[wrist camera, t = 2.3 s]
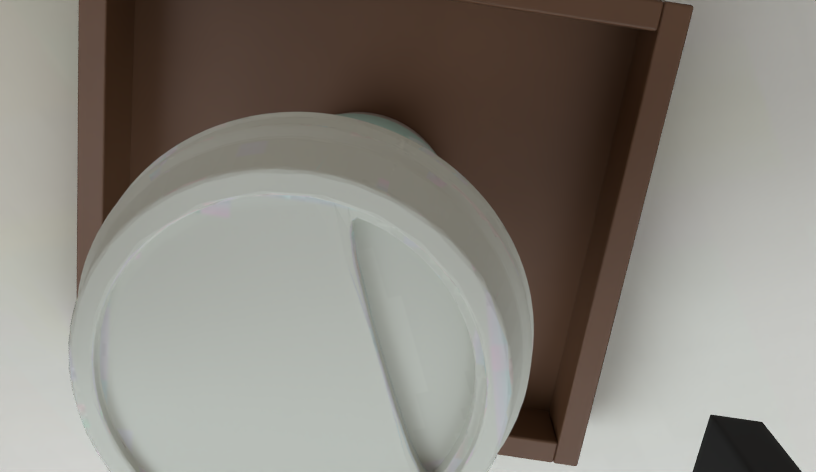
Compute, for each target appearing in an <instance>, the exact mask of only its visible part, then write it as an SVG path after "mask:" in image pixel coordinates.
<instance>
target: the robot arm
mask: <svg viewBox="0 0 816 472" xmlns="http://www.w3.org/2000/svg"><path fill="white" fill-rule="evenodd" d="M693 472H801V470H800V469H799V468H798V467H797V465H796V464H795V463H794V461H793V460H792V459H791V458H790V456H789V455H788V454H787V453H786V451H785V450H784V449H783V448H782V446H781V445H780V444H779V443H778V441H777V440H776V439H775V438H774V436H773V435H772V434H771V433H770V431H769V430H768V429H767V428H766V426H765V425H764V424H763V423H762V422H758V421H751V420H744V419H737V418H730V417H723V416H717V415H710V418H709V421H708V424H707V428H706V431H705V434H704V437H703V440H702V444H701V447H700V450H699V453H698V456H697V460H696V463H695V466H694V469H693Z"/></svg>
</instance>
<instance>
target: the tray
mask: <svg viewBox="0 0 816 472" xmlns="http://www.w3.org/2000/svg"><path fill="white" fill-rule="evenodd" d="M692 11H693V6H692V5H687V4H681V3H674V2H668V1H665V2H662V1H661V0H79V50H78V194H77V297H78V289H79V284H80V279H81V275H82V271H83V268H84V264H85V261H86V258H87V255H88V253H89V250H90V248H91V245H92V243H93V241H94V239H95V237H96V235H97V233H98V231H99V229H100V228H101V226H102V224H103V223H104V221H105V219H106V218H107V216H108V214H109V213H110V212H111V210H112V209H113V208H114V206H115V205H116V204H117V202H118V201H119V199H120V198H121V197H122V195H123V194H124V193H125V191H126V190H127V189H128V188H129V186H130V185H131V184H132V183H133V182H134V181H135V179H136V178H137V177H138V176H139V175H140V174H141V173H142V172H143V171H144V170H145V169H146V168H148V167H149V166H150V165H151V164H152V163H153V162H154V161H156V160H157V159H158V158H159V157H161V156H162V155H163V154H165V153H166V152H167V151H169V150H170V149H172V148H173V147H175V146H176V145H178V144H180V143H181V142H183V141H185V140H187V139H188V138H190V137H192V136H194V135H196V134H198V133H201V132H203V131H205V130H207V129H210V128H212V127H215V126H218V125H220V124H223V123H226V122H230V121H233V120H237V119H241V118H245V117H250V116H255V115H261V114H269V113H279V112H315V113H325V114H333V115H336V114H342V113H349V112H367V113H374V114H379V115H383V116H386V117H390V118H392V119H395V120H397V121H399V122H401V123H403V124H405V125H406V126H408V127H410V128H411V129H412V130H414V131H415V132H416V133H418V134H419V135H420V136H421V137H422V138H423V139H424V140H425V141H426V142H427V143H428V144H429V145H430V146H431V148H432V149H433V150H434V152H435V153H436V154H437V156H439V157H440V158H441V159H443V160H444V161H445V162H447V163H448V164H449V165H451V166H452V167H453V168H454V169H456V170H457V171H458V172H459V173H460V174H461V175H462V176H463V177H465V178H466V179H467V180H468V181H469V182H470V183H471V184H472V185H473V186H474V187H475V188H476V189H477V191H478V192H479V193H480V194H481V195H482V196H483V197H484V199H485V200H486V201H487V202H488V204H489V205H490V206H491V207H492V209H493V210H494V211H495V213H496V214H497V216H498V217H499V219H500V220H501V222H502V223H503V225H504V227H505V228H506V230H507V232H508V234H509V236H510V237H511V239H512V241H513V243H514V246H515V248H516V250H517V252H518V255H519V257H520V260H521V262H522V265H523V268H524V271H525V274H526V278H527V281H528V286H529V290H530V295H531V301H532V309H533V320H534V339H533V351H532V359H531V367H530V374H529V380H528V385H527V390H526V394H525V397H524V400H523V403H522V406H521V409H520V412H519V414H518V417H517V420H516V422H515V424H514V426H513V428H512V430H511V432H510V434H509V436H508V437H507V439H506V441H505V443H504V444H503V446H502V447H501V449H500V450H499V452H498V453H497V454H499V455H506V456H513V457H519V458H526V459H533V460H540V461H546V462H552V461H554V463H558V464H565V465H572V466H577V464H578V460H579V456H580V452H581V448H582V444H583V440H584V436H585V432H586V428H587V424H588V420H589V416H590V413H591V409H592V405H593V401H594V397H595V393H596V389H597V385H598V381H599V377H600V373H601V369H602V365H603V361H604V357H605V354H606V350H607V346H608V342H609V338H610V334H611V330H612V326H613V322H614V318H615V314H616V310H617V306H618V302H619V299H620V295H621V291H622V287H623V283H624V279H625V275H626V271H627V267H628V263H629V259H630V255H631V251H632V247H633V243H634V240H635V236H636V232H637V228H638V224H639V220H640V216H641V212H642V208H643V204H644V200H645V196H646V192H647V188H648V184H649V181H650V177H651V173H652V169H653V165H654V161H655V157H656V153H657V149H658V145H659V141H660V137H661V133H662V129H663V126H664V122H665V118H666V114H667V110H668V106H669V102H670V98H671V94H672V90H673V86H674V82H675V78H676V74H677V70H678V67H679V63H680V59H681V55H682V51H683V47H684V43H685V39H686V35H687V31H688V27H689V23H690V19H691V15H692Z"/></svg>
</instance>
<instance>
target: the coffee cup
mask: <svg viewBox="0 0 816 472" xmlns="http://www.w3.org/2000/svg"><path fill="white" fill-rule="evenodd" d="M533 339H534V320H533V309H532V301H531V295H530V290H529V286H528V281H527V278H526V274H525V271H524V268H523V265H522V262H521V260H520V257H519V255H518V252H517V250H516V248H515V246H514V243H513V241H512V239H511V237H510V236H509V234H508V232H507V230H506V228H505V227H504V225H503V223H502V222H501V220H500V219H499V217H498V216H497V214H496V213H495V211H494V210H493V209H492V207H491V206H490V205H489V204H488V202H487V201H486V200H485V199H484V197H483V196H482V195H481V194H480V193H479V192H478V191H477V189H476V188H475V187H474V186H473V185H472V184H471V183H470V182H469V181H468V180H467V179H466V178H465V177H463V176H462V175H461V174H460V173H459V172H458V171H457V170H456V169H454V168H453V167H452V166H451V165H449V164H448V163H447V162H445V161H444V160H443V159H441V158H440V157H439V156H437V154H436V153H435V152H434V150H433V149H432V148H431V146H430V145H429V144H428V143H427V142H426V141H425V140H424V139H423V138H422V137H421V136H420V135H419V134H418V133H416V132H415V131H414V130H412V129H411V128H410V127H408V126H406V125H405V124H403V123H401V122H399V121H397V120H395V119H392V118H390V117H386V116H383V115H379V114H374V113H367V112H349V113H342V114H336V115H333V114H325V113H315V112H279V113H269V114H261V115H255V116H250V117H245V118H241V119H237V120H233V121H230V122H226V123H223V124H220V125H218V126H215V127H212V128H210V129H207V130H205V131H203V132H201V133H198V134H196V135H194V136H192V137H190V138H188V139H187V140H185V141H183V142H181V143H180V144H178V145H176V146H175V147H173V148H172V149H170V150H169V151H167V152H166V153H165V154H163V155H162V156H161V157H159V158H158V159H157V160H156V161H154V162H153V163H152V164H151V165H150V166H149V167H148V168H146V169H145V170H144V171H143V172H142V173H141V174H140V175H139V176H138V177H137V178H136V179H135V181H134V182H133V183H132V184H131V185H130V186H129V188H128V189H127V190H126V191H125V193H124V194H123V195H122V197H121V198H120V199H119V201H118V202H117V204H116V205H115V206H114V208H113V209H112V210H111V212H110V213H109V214H108V216H107V218H106V219H105V221H104V223H103V224H102V226H101V228H100V229H99V231H98V233H97V235H96V237H95V239H94V241H93V243H92V245H91V248H90V250H89V253H88V255H87V258H86V261H85V264H84V268H83V271H82V275H81V279H80V284H79V289H78V297H77V301H76V304H75V307H74V311H73V316H72V320H71V326H70V335H69V372H70V378H71V385H72V391H73V395H74V398H75V402H76V406H77V410H78V413H79V415H80V418H81V421H82V423H83V425H84V428H85V430H86V433H87V435H88V437H89V439H90V440H91V442H92V444H93V446H94V448H95V450H96V451H97V453H98V455H99V456H100V458H101V459H102V461H103V462H104V464H105V465H106V467H107V468H108V470H109V471H110V472H488V471H489V469H490V467H491V465H492V464H493V462H494V460H495V458H496V456H497V453H498V452H499V450H500V449H501V447H502V446H503V444H504V443H505V441H506V439H507V437H508V436H509V434H510V432H511V430H512V428H513V426H514V424H515V422H516V420H517V417H518V414H519V412H520V409H521V406H522V403H523V400H524V397H525V394H526V390H527V385H528V380H529V374H530V367H531V359H532V351H533Z"/></svg>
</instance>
